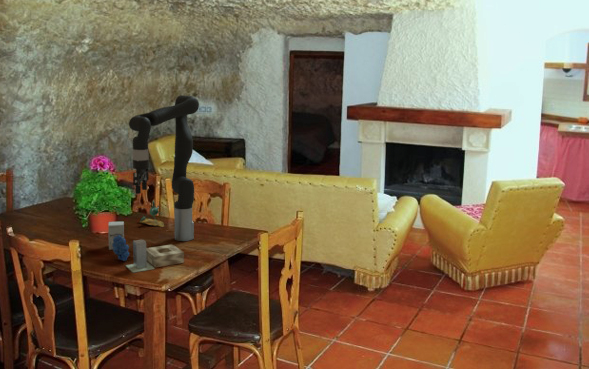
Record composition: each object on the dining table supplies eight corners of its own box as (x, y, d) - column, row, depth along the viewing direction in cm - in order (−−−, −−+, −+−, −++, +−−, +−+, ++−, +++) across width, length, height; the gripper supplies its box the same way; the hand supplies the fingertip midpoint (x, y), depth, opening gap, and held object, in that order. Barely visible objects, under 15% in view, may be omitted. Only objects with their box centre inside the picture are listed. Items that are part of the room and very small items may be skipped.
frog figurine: (148, 219, 347) (150, 195, 344) (169, 228, 338) (171, 204, 334) (135, 222, 340) (137, 198, 336) (157, 231, 330) (159, 206, 326)
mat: (146, 262, 273) (146, 261, 273) (154, 269, 265) (154, 268, 265) (125, 266, 268) (125, 265, 267) (133, 272, 259) (132, 271, 259)
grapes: (105, 259, 276) (105, 234, 274) (118, 256, 281) (117, 231, 279) (120, 265, 269) (119, 239, 266) (132, 261, 274) (132, 236, 271)
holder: (172, 254, 286) (172, 244, 285) (183, 262, 275) (183, 252, 274) (144, 258, 278) (144, 248, 278) (155, 267, 267) (155, 256, 266)
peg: (143, 264, 269) (142, 239, 267) (146, 267, 266) (146, 242, 263) (133, 266, 267) (133, 240, 264) (136, 269, 263) (136, 243, 261)
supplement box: (108, 250, 289) (107, 225, 287) (109, 245, 296) (108, 221, 294) (124, 249, 291) (123, 224, 289) (124, 244, 298) (123, 220, 296)
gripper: (138, 155, 287) (139, 188, 290) (127, 160, 273) (128, 194, 276) (153, 156, 286) (153, 189, 290) (142, 161, 273) (143, 195, 276)
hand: (141, 191), depth 283 cm, fingers open, 8 cm apart
